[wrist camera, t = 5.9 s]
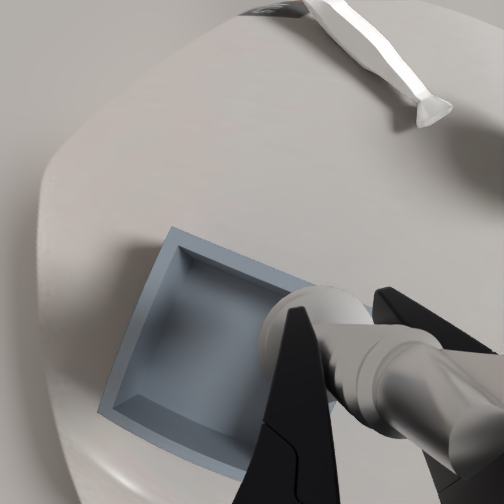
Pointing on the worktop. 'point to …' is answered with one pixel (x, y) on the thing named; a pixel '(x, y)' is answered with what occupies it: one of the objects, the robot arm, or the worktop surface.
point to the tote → (198, 354)
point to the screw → (400, 379)
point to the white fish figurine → (376, 56)
